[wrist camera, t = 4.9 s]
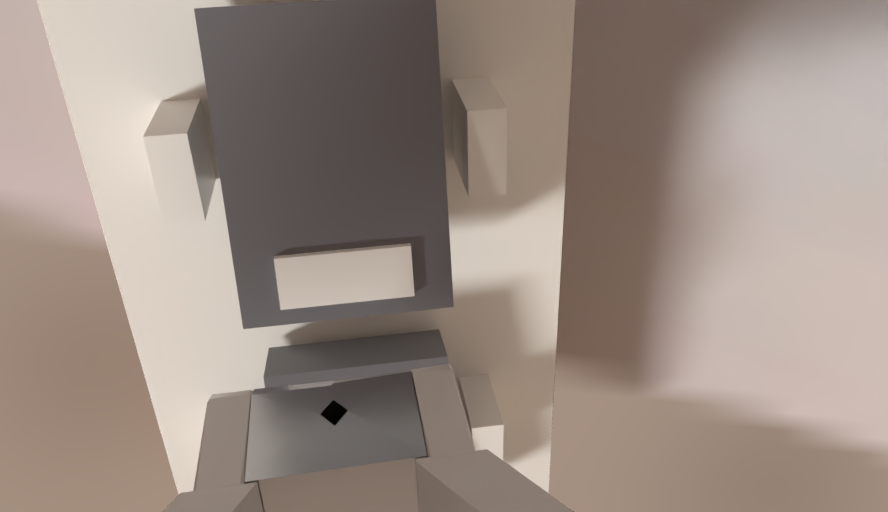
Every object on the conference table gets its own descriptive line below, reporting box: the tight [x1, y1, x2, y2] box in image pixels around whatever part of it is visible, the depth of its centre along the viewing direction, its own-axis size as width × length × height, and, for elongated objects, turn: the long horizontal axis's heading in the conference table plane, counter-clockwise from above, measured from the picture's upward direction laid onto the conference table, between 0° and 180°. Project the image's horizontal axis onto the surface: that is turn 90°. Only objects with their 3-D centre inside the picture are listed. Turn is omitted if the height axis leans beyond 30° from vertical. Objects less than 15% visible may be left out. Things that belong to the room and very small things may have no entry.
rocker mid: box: [194, 0, 454, 329], centre depth 12 cm, size 3×5×1 cm
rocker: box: [263, 329, 448, 388], centre depth 15 cm, size 3×5×1 cm
